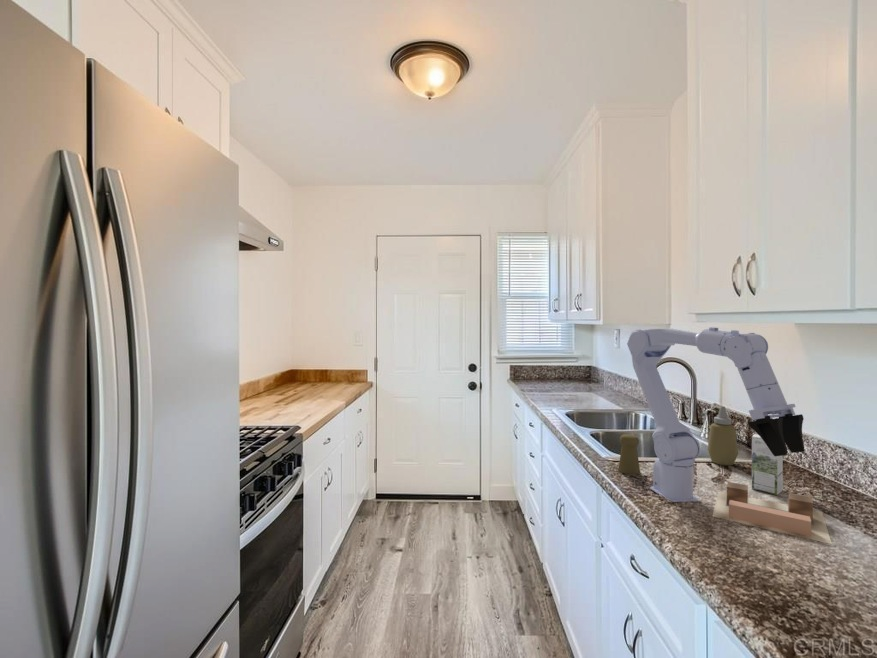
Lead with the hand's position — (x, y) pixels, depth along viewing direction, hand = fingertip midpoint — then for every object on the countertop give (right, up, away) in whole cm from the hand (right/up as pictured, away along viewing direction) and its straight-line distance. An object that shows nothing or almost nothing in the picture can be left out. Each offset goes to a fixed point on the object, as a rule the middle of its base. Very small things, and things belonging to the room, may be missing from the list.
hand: (789, 453), depth 84 cm
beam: (+2, -18, +8) cm, 20 cm away
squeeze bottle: (+20, -18, +50) cm, 57 cm away
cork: (-13, -18, +43) cm, 48 cm away
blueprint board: (+6, -18, +13) cm, 23 cm away
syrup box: (+18, -18, +29) cm, 38 cm away
